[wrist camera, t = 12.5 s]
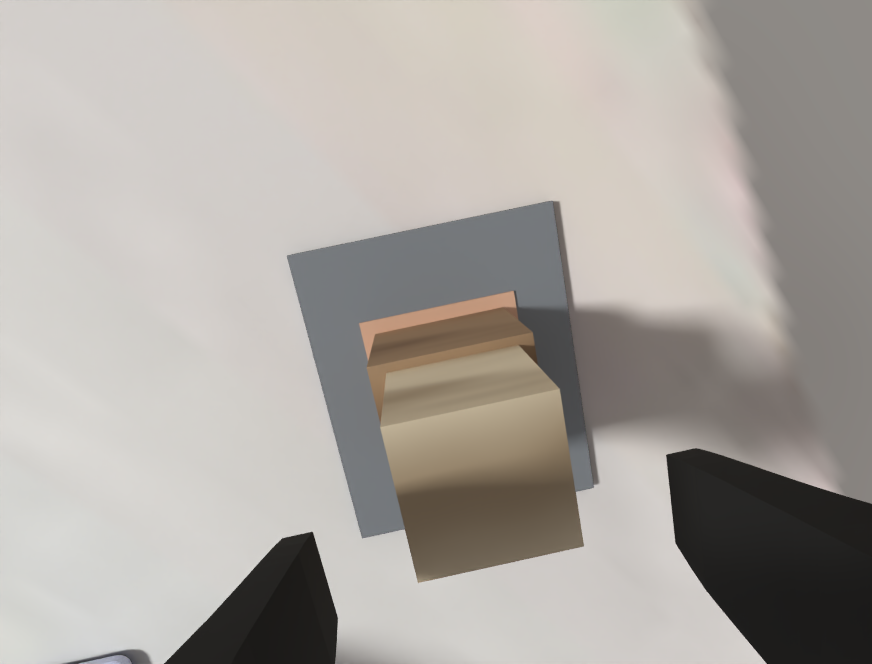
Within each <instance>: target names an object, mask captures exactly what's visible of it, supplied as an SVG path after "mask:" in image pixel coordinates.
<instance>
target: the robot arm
mask: <svg viewBox="0 0 872 664" xmlns="http://www.w3.org/2000/svg"><path fill="white" fill-rule="evenodd" d="M666 457H667V467H668V476H669V486H670V495H671V505H672V514H673V523H674V533H675V542H676V545H677V546H678V548H679V549H680V551H681V553H682V554H683V556H684V557H685V559H686V561H687V562H688V564H689V565H690V567H691V569H692V570H693V572H694V573H695V575H696V576H697V578H698V579H699V581H700V582H701V583H702V585H703V586H704V588H705V589H706V591H707V592H708V593H709V594H710V596H711V597H712V598H713V599H714V601H715V602H716V603H717V604H718V606H719V607H720V608H721V609H722V610H723V612H724V613H725V614H726V615H727V616H728V618H729V619H730V620H731V621H732V623H733V624H734V625H735V626H736V627H737V629H738V630H739V631H740V632H741V633H742V635H743V636H744V637H745V638H746V639H747V640H748V642H749V643H750V644H751V645H752V646H753V648H754V649H755V650H756V651H757V652H758V654H759V655H760V656H761V657H762V658H763V660H764V661H765V662H766V663H767V664H872V504H870V503H867V502H863V501H860V500H856V499H853V498H849V497H846V496H843V495H839V494H836V493H833V492H830V491H827V490H824V489H820V488H817V487H814V486H811V485H808V484H805V483H802V482H799V481H796V480H793V479H790V478H787V477H784V476H781V475H778V474H775V473H772V472H769V471H766V470H763V469H760V468H758V467H755V466H752V465H749V464H746V463H743V462H740V461H737V460H734V459H731V458H728V457H725V456H722V455H719V454H715V453H712V452H709V451H705V450H701V449H697V448H695V449H690V450H686V451H681V452H677V453H672V454H667V455H666ZM337 624H338V617H337V614H336V610H335V607H334V603H333V600H332V596H331V593H330V589H329V586H328V583H327V579H326V576H325V572H324V569H323V565H322V562H321V559H320V555H319V552H318V548H317V545H316V541H315V538H314V535H313V532H309V533H305V534H300V535H296V536H291V537H286V538H282V539H281V540H280V541H279V542H278V543H277V544H276V545H275V546H274V547H273V548H272V549H271V550H270V552H269V553H268V554H267V555H266V556H265V557H264V558H263V559H262V560H261V561H260V562H259V564H258V565H257V566H256V567H255V568H254V569H253V570H252V571H251V573H250V574H249V575H248V576H247V577H246V578H245V579H244V580H243V581H242V583H241V584H240V585H239V586H238V587H237V588H236V589H235V590H234V591H233V592H232V594H231V595H230V596H229V597H228V598H227V599H226V600H225V601H224V602H223V603H222V605H221V606H220V607H219V608H218V609H217V610H216V611H215V612H214V613H213V614H212V615H211V616H210V618H209V619H208V620H207V621H206V622H205V623H204V624H203V625H202V626H201V627H200V628H199V629H198V630H197V631H196V632H195V633H194V634H193V635H192V636H191V637H190V638H189V639H188V640H187V641H186V642H185V643H184V644H183V645H182V646H181V647H180V648H179V649H178V650H177V651H176V652H175V653H174V654H173V655H172V656H171V657H170V658H169V659H168V660H167V661H166V662H165V663H164V664H335V658H336V643H337ZM79 664H132V663H131V661H130V660H129V658H127V657H126V656H123V655H115V656H111V657H106V658H101V659H97V660H92V661H88V662H83V663H79Z"/></svg>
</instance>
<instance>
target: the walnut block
mask: <svg viewBox="0 0 872 664" xmlns="http://www.w3.org/2000/svg"><path fill="white" fill-rule="evenodd" d="M516 345H519V346H520V347H521V348H522V349H523V350H524V351H525V352H526V353H527V355H528V356H529V357H530V358H531V359H532V360H533V361H534V362H535V363H536V364H537V365H538V362H537V356H536V349H535V343H534V337H533V332H532V331H531V330H529V329H528V328H527V327H526V326H525V325H524V324H522V323H521V322H520V321H519V320H518V319H517V318H515V317H514V316H513V315H512V314H511V313H509V312H508V311H507V310H506V309H505V308H504V307H501V308H496V309H492V310H487V311H482V312H477V313H473V314H468V315H463V316H458V317H454V318H449V319H444V320H439V321H435V322H430V323H425V324H420V325H416V326H411V327H406V328H402V329H397V330H392V331H387V332H383V333H378V334H375V336H374V340H373V344H372V348H371V352H370V356H369V360H368V364H367V371H368V375H369V379H370V384H371V388H372V392H373V396H374V400H375V404H376V408H377V412H378V416H379V420H380V424H381V416H382V407H383V398H384V389H385V380H386V373H389V372H394V371H399V370H404V369H408V368H413V367H418V366H422V365H427V364H432V363H436V362H441V361H446V360H451V359H455V358H460V357H465V356H469V355H474V354H479V353H483V352H488V351H493V350H498V349H502V348H507V347H512V346H516Z"/></svg>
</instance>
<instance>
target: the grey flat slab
mask: <svg viewBox="0 0 872 664" xmlns="http://www.w3.org/2000/svg"><path fill="white" fill-rule="evenodd" d="M287 259H288V262H289V266H290V270H291V273H292V277H293V281H294V285H295V288H296V292H297V296H298V300H299V303H300V307H301V311H302V315H303V318H304V322H305V326H306V330H307V333H308V337H309V341H310V345H311V348H312V352H313V356H314V360H315V363H316V367H317V371H318V375H319V378H320V382H321V386H322V390H323V393H324V397H325V401H326V405H327V408H328V412H329V416H330V420H331V423H332V427H333V431H334V435H335V438H336V442H337V446H338V450H339V453H340V457H341V461H342V465H343V468H344V472H345V476H346V480H347V483H348V487H349V491H350V495H351V498H352V502H353V506H354V509H355V513H356V517H357V521H358V524H359V528H360V532H361V536H362V538H366V537H371V536H376V535H380V534H385V533H389V532H394V531H398V530H403V529H405V527H404V523H403V519H402V515H401V511H400V507H399V503H398V498H397V494H396V490H395V486H394V482H393V478H392V474H391V470H390V466H389V462H388V457H387V453H386V449H385V445H384V441H383V437H382V433H381V429H380V420H379V416H378V412H377V408H376V404H375V400H374V396H373V392H372V388H371V384H370V379H369V375H368V371H367V364H368V360H369V356H370V352H371V348H372V344H373V340H374V336H375V334H378V333H383V332H387V331H392V330H397V329H402V328H406V327H411V326H416V325H420V324H425V323H430V322H435V321H439V320H444V319H449V318H454V317H458V316H463V315H468V314H473V313H477V312H482V311H487V310H492V309H496V308H501V307H504V308H505V309H506V310H507V311H508V312H509V313H511V314H512V315H513V316H514V317H515V318H517V319H518V320H519V321H520V322H521V323H522V324H524V325H525V326H526V327H527V328H528V329H529V330H531V331H532V332H533V337H534V343H535V349H536V356H537V362H538V366H539V367H540V368H541V369H542V371H543V372H544V373H545V374H546V375H547V376H548V377H549V378H550V379H551V380H552V381H553V382H554V383H555V384H556V385H557V387H558V388H559V389H560V394H561V401H562V407H563V414H564V420H565V427H566V433H567V440H568V446H569V453H570V459H571V466H572V472H573V479H574V485H575V492H577V491H581V490H586V489H591V488H594V485H593V478H592V471H591V464H590V457H589V450H588V443H587V437H586V430H585V423H584V416H583V409H582V402H581V395H580V388H579V381H578V374H577V367H576V360H575V353H574V346H573V339H572V332H571V325H570V318H569V311H568V304H567V297H566V291H565V284H564V277H563V270H562V263H561V256H560V249H559V242H558V235H557V228H556V221H555V214H554V207H553V201H548V202H543V203H538V204H533V205H529V206H524V207H519V208H514V209H509V210H505V211H500V212H495V213H490V214H485V215H480V216H476V217H471V218H466V219H461V220H456V221H451V222H447V223H442V224H437V225H432V226H427V227H423V228H418V229H413V230H408V231H403V232H398V233H394V234H389V235H384V236H379V237H374V238H369V239H365V240H360V241H355V242H350V243H345V244H340V245H336V246H331V247H326V248H321V249H316V250H312V251H307V252H302V253H297V254H292V255H288V256H287Z"/></svg>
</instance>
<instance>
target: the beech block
mask: <svg viewBox="0 0 872 664" xmlns="http://www.w3.org/2000/svg"><path fill="white" fill-rule="evenodd" d="M380 429H381V433H382V437H383V441H384V445H385V449H386V453H387V457H388V462H389V466H390V470H391V474H392V478H393V482H394V486H395V490H396V494H397V498H398V503H399V507H400V511H401V515H402V519H403V523H404V527H405V531H406V535H407V539H408V544H409V548H410V552H411V556H412V560H413V564H414V568H415V572H416V576H417V580H418V583H420V582H424V581H429V580H433V579H438V578H443V577H447V576H452V575H456V574H461V573H465V572H470V571H474V570H479V569H483V568H488V567H492V566H497V565H501V564H506V563H510V562H515V561H520V560H524V559H529V558H533V557H538V556H542V555H547V554H551V553H556V552H560V551H565V550H569V549H574V548H578V547H583V546H584V544H583V537H582V531H581V524H580V518H579V511H578V505H577V498H576V492H575V485H574V479H573V472H572V466H571V459H570V453H569V446H568V440H567V433H566V427H565V420H564V414H563V407H562V401H561V394H560V389H559V388H558V387H557V385H556V384H555V383H554V382H553V381H552V380H551V379H550V378H549V377H548V376H547V375H546V374H545V373H544V372H543V371H542V369H541V368H540V367H539V366H538V365H537V364H536V363H535V362H534V361H533V360H532V359H531V358H530V357H529V356H528V355H527V353H526V352H525V351H524V350H523V349H522V348H521V347H520V346H519V345H516V346H512V347H507V348H502V349H498V350H493V351H488V352H483V353H479V354H474V355H469V356H465V357H460V358H455V359H451V360H446V361H441V362H436V363H432V364H427V365H422V366H418V367H413V368H408V369H404V370H399V371H394V372H389V373H386V380H385V389H384V398H383V407H382V416H381V424H380Z"/></svg>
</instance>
